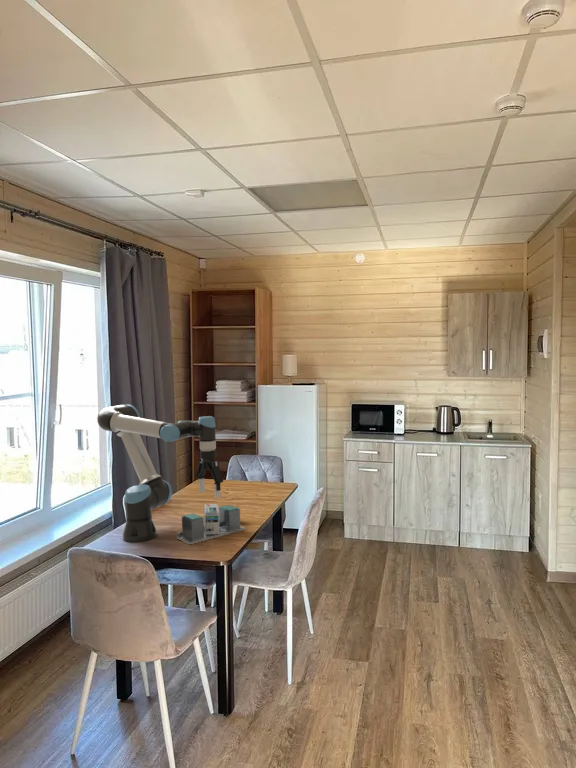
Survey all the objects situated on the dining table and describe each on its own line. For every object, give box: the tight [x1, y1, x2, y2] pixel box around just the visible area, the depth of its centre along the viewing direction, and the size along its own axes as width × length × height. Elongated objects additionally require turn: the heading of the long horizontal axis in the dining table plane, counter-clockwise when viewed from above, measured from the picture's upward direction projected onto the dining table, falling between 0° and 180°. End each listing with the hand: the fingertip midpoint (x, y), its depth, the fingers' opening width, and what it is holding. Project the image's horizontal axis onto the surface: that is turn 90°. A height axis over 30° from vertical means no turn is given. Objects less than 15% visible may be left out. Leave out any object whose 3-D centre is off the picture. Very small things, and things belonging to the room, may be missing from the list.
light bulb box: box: [203, 503, 220, 534], centre depth 259 cm, size 11×7×11 cm, turn 11°
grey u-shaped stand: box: [176, 504, 246, 545], centre depth 260 cm, size 30×12×11 cm, turn 130°
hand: (209, 494), depth 259 cm, fingers open, 13 cm apart
